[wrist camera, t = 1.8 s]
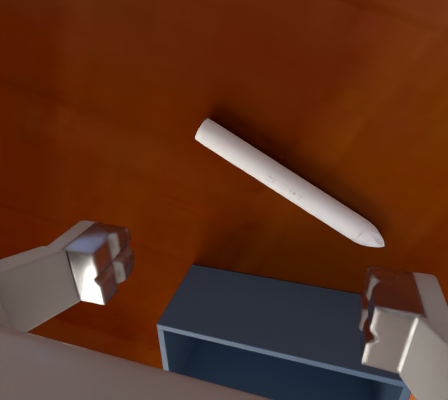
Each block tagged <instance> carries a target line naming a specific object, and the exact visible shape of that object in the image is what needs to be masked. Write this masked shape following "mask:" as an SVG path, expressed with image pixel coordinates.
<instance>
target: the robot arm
mask: <svg viewBox="0 0 448 400" xmlns="http://www.w3.org/2000/svg"><path fill="white" fill-rule="evenodd" d="M130 240H131V237H130V232H129V230H128V229H127V228H125V227H121V226H115V225H110V224H104V223H97V222H93V221H86V220H85V221H80V222H78V223H77V224H76V225H75V226H73V227H72V228H71V229H69V230H68V231H67V232H65V233H64V234H63V235H61V236H60V237H59V238H57V239H56V240H55V241H53V242H52V243H51V244H49V245H48V246H47V247H44V246H41V247H38V248H35V249H32V250H29V251H26V252H23V253H19V254H16V255H13V256H10V257H7V258H4V259H1V260H0V400H273V399H269V398H265V397H262V396H258V395H254V394H251V393H247V392H243V391H240V390H236V389H232V388H229V387H225V386H221V385H218V384H214V383H210V382H207V381H203V380H199V379H196V378H192V377H188V376H185V375H181V374H177V373H174V372H170V371H166V370H163V369H159V368H155V367H152V366H148V365H144V364H141V363H137V362H133V361H130V360H126V359H122V358H119V357H115V356H111V355H108V354H104V353H100V352H97V351H93V350H89V349H86V348H82V347H78V346H75V345H71V344H67V343H64V342H60V341H56V340H53V339H49V338H45V337H42V336H38V335H34V334H31V333H27V332H28V331H29V330H31V329H33V328H35V327H36V326H38V325H40V324H42V323H43V322H45V321H47V320H49V319H50V318H52V317H54V316H55V315H57V314H59V313H61V312H62V311H64V310H66V309H68V308H69V307H71V306H73V305H75V304H76V303H78V302H79V300H81V301H86V302H91V303H96V304H101V305H105V304H106V303H107V301H108V300H109V299H110V298H111V297H112V295H113V294H114V293H115V292H116V291H117V284H118V283H120V282H122V281H124V280H126V279H127V277H128V276H129V275H130V273H131V270H132V268H133V265H134V254H133V251H132V249H131V248H130V247H129V246H128V243H129V242H130ZM358 322H359V329H360V330H361V331H362V334H361V338H360V351H361V364H363V365H367V366H371V367H375V368H378V369H382V370H386V371H390V372H394V373H398V374H400V375H399V376H400V377H401V378H402V380H403V381H404V383H405V384H406V386H407V387H408V388H409V390H410V391H411V393H412V394H413V395H414V397H415V398H416V400H448V305H447V303H446V300H445V298H444V295H443V293H442V290H441V288H440V285H439V283H438V280H437V278H436V277H435V276H434V275H432V274H424V273H417V272H405V271H399V270H392V269H385V268H378V267H372V266H368V268H367V270H366V275H365V290H363V291H362V292H361V297H360V303H359V312H358Z"/></svg>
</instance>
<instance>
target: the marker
mask: <svg viewBox="0 0 448 400" xmlns="http://www.w3.org/2000/svg"><path fill="white" fill-rule="evenodd" d="M195 139H196V140H197V141H199V142H200V143H201V144H203V145H204V146H206V147H207V148H209V149H211V150H212V151H214V152H215V153H217V154H218V155H220V156H221V157H223V158H225V159H226V160H228V161H229V162H231V163H232V164H234V165H235V166H237V167H239V168H240V169H242V170H243V171H245V172H246V173H248V174H250V175H251V176H253V177H254V178H256V179H257V180H259V181H260V182H262V183H264V184H265V185H267V186H268V187H270V188H271V189H273V190H274V191H276V192H278V193H279V194H281V195H282V196H284V197H285V198H287V199H288V200H290V201H292V202H293V203H295V204H296V205H298V206H299V207H301V208H302V209H304V210H305V211H307V212H308V213H310V214H312V215H313V216H315V217H316V218H318V219H320V220H321V221H323V222H324V223H326V224H327V225H329V226H330V227H332V228H334V229H335V230H337V231H338V232H340V233H341V234H343V235H344V236H346V237H348V238H349V239H351V240H352V241H354V242H356V243H358V244H360V245H363V246H369V247H384V246H385V245H384V240H383V238H382V236H381V234H380V233H379V231H378V230H377V229H376V227H375V226H374V225H373V224H372V223H371V222H369V221H368V220H366V219H365V218H363V217H362V216H360V215H359V214H357V213H356V212H354V211H352V210H351V209H349V208H348V207H346V206H345V205H343V204H342V203H340V202H338V201H337V200H335V199H334V198H332V197H331V196H329V195H328V194H326V193H324V192H323V191H321V190H320V189H318V188H317V187H315V186H314V185H312V184H310V183H309V182H307V181H306V180H304V179H303V178H301V177H300V176H298V175H296V174H295V173H293V172H292V171H290V170H289V169H287V168H286V167H284V166H282V165H281V164H279V163H278V162H276V161H275V160H273V159H272V158H270V157H268V156H267V155H265V154H264V153H262V152H261V151H259V150H258V149H256V148H254V147H253V146H251V145H250V144H248V143H247V142H245V141H244V140H242V139H240V138H239V137H237V136H236V135H234V134H233V133H231V132H230V131H228V130H226V129H225V128H223V127H222V126H220V125H219V124H217V123H216V122H214V121H212V120H210V119H208V118H207V120H204V122H203V123H202V124H201V126H200V128H199V129H198V131H197V133H196V135H195Z"/></svg>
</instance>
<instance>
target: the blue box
mask: <svg viewBox="0 0 448 400" xmlns="http://www.w3.org/2000/svg"><path fill="white" fill-rule="evenodd" d="M360 297H361V294H356V293H350V292H344V291H339V290H333V289H327V288H322V287H316V286H311V285H305V284H299V283H294V282H288V281H282V280H277V279H271V278H266V277H260V276H254V275H249V274H243V273H237V272H232V271H226V270H221V269H215V268H209V267H204V266H198V265H192V266H191V268H190V269H189V271H188V273H187V274H186V276H185V278H184V279H183V281H182V283H181V284H180V286H179V288H178V289H177V291H176V293H175V294H174V296H173V298H172V299H171V301H170V303H169V304H168V306H167V308H166V309H165V311H164V313H163V314H162V316H161V318H160V319H159V321H158V323H157V328H158V329H157V330H158V336H159V343H160V349H161V356H162V362H163V369H164V370H166V371H170V372H174V373H177V374H181V375H185V376H188V377H192V378H196V379H199V380H203V381H207V382H210V383H214V384H218V385H221V386H225V387H229V388H232V389H236V390H240V391H243V392H247V393H251V394H254V395H258V396H262V397H265V398H269V399H273V400H409V397H410V394H411V391H410V390H409V388H408V387H407V386H406V384H405V383H404V381H403V380H402V378H401V377H400V376H399V375H400V374H398V373H394V372H390V371H386V370H382V369H378V368H375V367H371V366H367V365H363V364H361V351H360V338H361V334H362V331H361V330H360V329H359V322H358V312H359V303H360Z"/></svg>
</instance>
